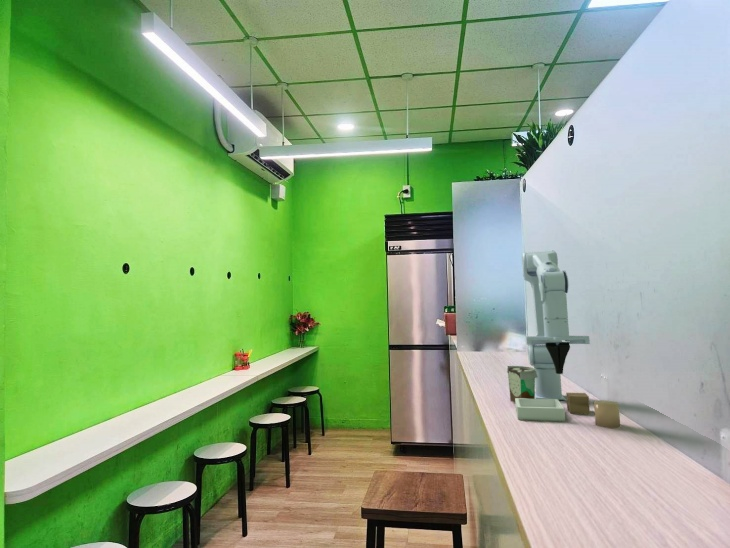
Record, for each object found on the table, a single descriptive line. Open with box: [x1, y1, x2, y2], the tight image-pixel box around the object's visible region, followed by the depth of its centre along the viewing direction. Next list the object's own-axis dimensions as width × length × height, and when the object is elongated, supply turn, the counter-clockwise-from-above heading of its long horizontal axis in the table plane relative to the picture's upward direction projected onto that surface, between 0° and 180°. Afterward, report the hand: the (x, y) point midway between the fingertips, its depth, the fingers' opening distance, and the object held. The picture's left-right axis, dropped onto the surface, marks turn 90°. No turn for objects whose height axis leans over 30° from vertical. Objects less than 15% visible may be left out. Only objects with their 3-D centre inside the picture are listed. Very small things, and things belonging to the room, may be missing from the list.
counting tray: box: [514, 398, 566, 422], centre depth 110 cm, size 11×11×3 cm
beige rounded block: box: [593, 400, 621, 429], centre depth 100 cm, size 5×5×5 cm
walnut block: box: [565, 392, 591, 415], centre depth 112 cm, size 4×4×4 cm
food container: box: [506, 365, 537, 405], centre depth 123 cm, size 12×6×10 cm, turn 179°
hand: (559, 373), depth 109 cm, fingers closed
